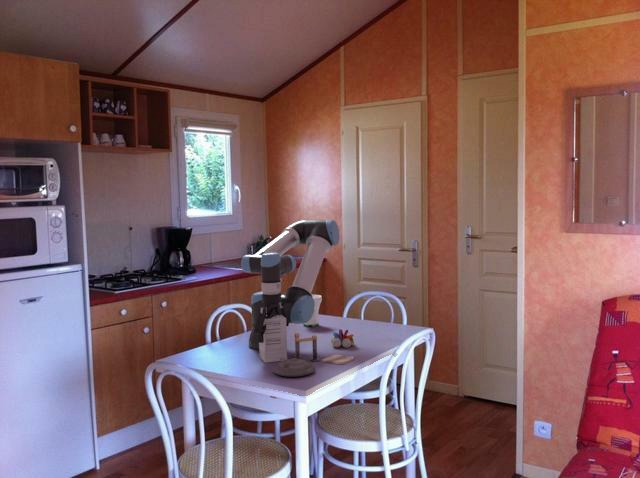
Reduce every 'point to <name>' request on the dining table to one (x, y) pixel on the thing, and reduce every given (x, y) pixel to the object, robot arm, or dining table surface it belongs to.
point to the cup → (315, 312)
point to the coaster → (338, 359)
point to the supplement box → (275, 340)
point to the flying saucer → (294, 368)
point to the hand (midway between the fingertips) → (273, 346)
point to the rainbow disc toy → (342, 339)
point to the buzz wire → (297, 340)
